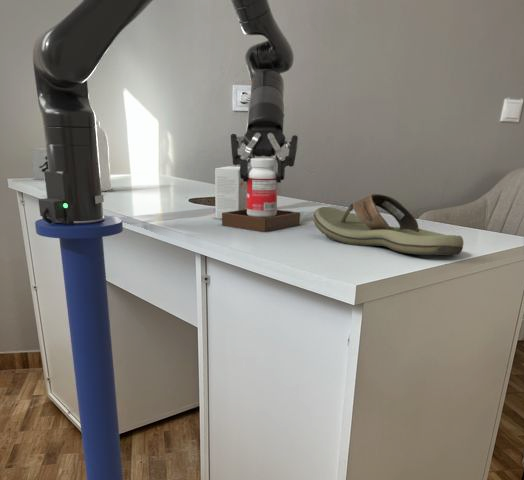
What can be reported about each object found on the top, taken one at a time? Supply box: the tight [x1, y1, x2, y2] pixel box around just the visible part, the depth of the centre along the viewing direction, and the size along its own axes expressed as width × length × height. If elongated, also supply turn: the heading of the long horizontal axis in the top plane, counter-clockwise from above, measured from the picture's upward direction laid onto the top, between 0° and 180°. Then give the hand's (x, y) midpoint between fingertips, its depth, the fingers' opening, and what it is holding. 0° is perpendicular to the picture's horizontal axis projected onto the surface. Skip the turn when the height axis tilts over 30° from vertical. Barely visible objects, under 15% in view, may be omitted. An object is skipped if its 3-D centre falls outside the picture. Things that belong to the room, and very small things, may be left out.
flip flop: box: [312, 193, 464, 256], centre depth 95 cm, size 29×12×8 cm, turn 37°
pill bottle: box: [247, 157, 278, 218], centre depth 112 cm, size 6×6×11 cm
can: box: [95, 118, 112, 193], centre depth 164 cm, size 12×12×20 cm
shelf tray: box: [221, 209, 301, 233], centre depth 114 cm, size 12×11×2 cm
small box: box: [214, 165, 252, 220], centre depth 122 cm, size 8×6×10 cm
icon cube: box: [30, 147, 49, 180], centre depth 199 cm, size 10×10×10 cm
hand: (262, 179), depth 110 cm, fingers closed on pill bottle, 6 cm apart
